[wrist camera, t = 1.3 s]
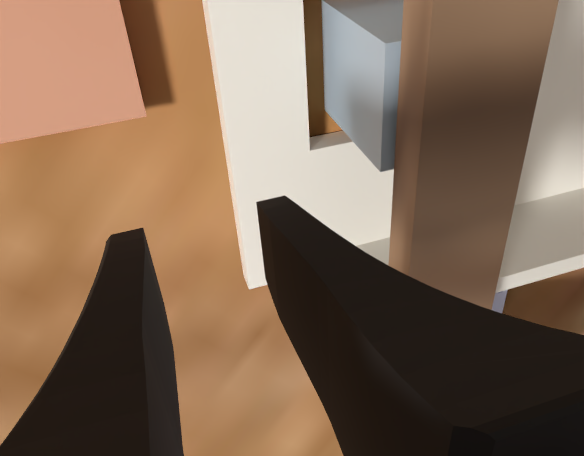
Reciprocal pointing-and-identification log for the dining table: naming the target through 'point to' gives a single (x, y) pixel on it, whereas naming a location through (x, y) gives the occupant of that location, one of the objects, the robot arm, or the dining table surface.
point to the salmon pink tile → (64, 67)
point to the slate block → (363, 72)
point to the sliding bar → (463, 136)
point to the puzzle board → (357, 167)
